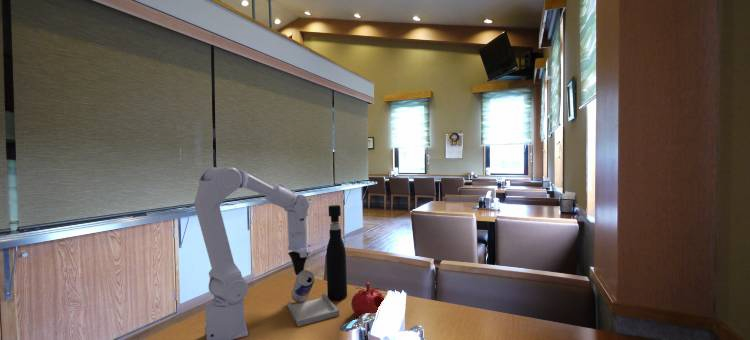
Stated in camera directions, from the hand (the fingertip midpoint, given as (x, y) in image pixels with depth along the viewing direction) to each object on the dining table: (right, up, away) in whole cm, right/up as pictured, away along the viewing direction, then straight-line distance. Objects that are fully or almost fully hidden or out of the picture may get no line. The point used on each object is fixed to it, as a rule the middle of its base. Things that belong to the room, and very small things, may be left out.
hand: (299, 274), depth 103 cm
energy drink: (0, -7, +1) cm, 7 cm away
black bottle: (+12, -9, +3) cm, 15 cm away
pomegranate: (+23, -9, -10) cm, 26 cm away
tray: (+6, -9, -7) cm, 12 cm away
